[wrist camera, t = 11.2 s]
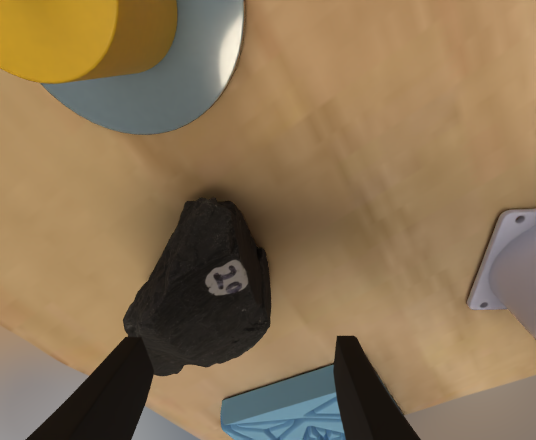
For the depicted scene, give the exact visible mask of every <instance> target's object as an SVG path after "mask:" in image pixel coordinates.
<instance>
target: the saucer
mask: <svg viewBox="0 0 536 440" xmlns="http://www.w3.org/2000/svg"><path fill="white" fill-rule="evenodd" d="M176 2H177V27H176V32H175V37H174V40H173V42H172V45H171V47H170V49H169V51H168V52H167V54H166V55H165V57H164V58H163V59H162V60H161V61H160V62H159V63H158V64H157V65H155V66H154V67H152V68H150V69H148V70H146V71H144V72H140V73H135V74H127V75H119V76H112V77H104V78H97V79H89V80H82V81H74V82H67V83H59V84H45V83H40V84H41V85H42V86H43V87H44V88H45V89H46V90H47V91H48V92H49V93H50V94H51V95H53V96H54V97H55V98H56V99H58V100H59V101H60V102H61V103H62V104H64V105H65V106H66V107H68V108H69V109H71V110H72V111H74V112H75V113H77V114H78V115H80V116H82V117H84V118H85V119H87V120H89V121H91V122H93V123H95V124H98V125H100V126H103V127H105V128H108V129H111V130H115V131H119V132H123V133H129V134H139V135H151V134H159V133H165V132H169V131H172V130H176V129H178V128H180V127H183V126H185V125H187V124H189V123H190V122H192V121H194V120H195V119H197V118H198V117H200V116H201V115H202V114H203V113H205V112H206V111H207V110H208V109H209V108H210V107H212V105H213V104H214V103H215V102H216V101H217V100H218V99H219V97H220V96H221V95H222V93H223V92H224V90H225V89H226V87H227V86H228V84H229V82H230V80H231V78H232V76H233V74H234V72H235V69H236V66H237V63H238V60H239V58H240V54H241V49H242V45H243V40H244V31H245V20H246V19H245V0H176Z"/></svg>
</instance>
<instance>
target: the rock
mask: <svg viewBox="0 0 536 440" xmlns="http://www.w3.org/2000/svg"><path fill="white" fill-rule="evenodd" d="M270 315H271V288H270V277H269V267H268V261H267V257H266V252H265V250H264V249H263V248H258V247H257V246H256V243H255V242H254V239H253V238H252V236H251V234H250V231H249V229H248V226H247V223H246V221H245V219H244V217H243V214H242V213H241V211H240V210H239V209H238V208H237V207H236V205H235V204H234V203H233V202H231V201H225V202H217V200H216V198H215V197H213V198H210V199H206V198H199V199H198V200H196V201H187V202H186V203H185V204H184V209H183V211H182V213H181V216H180V220H179V223H178V226H177V228H176V229H175V232H174V233H173V234H172V236H171V238H170V239H169V241H168V243H167V245H166V247H165V249H164V251H163V254H162V256H161V257H160V259H159V261H158V263H157V265H156V267H155V269H154V271H153V272H152V273H151V275H150V277H149V280H148V281H147V282H146V283H145V284H144V285H143V286H142V288H141V289H140V290H139V291H138V293H137V295H136V297H135V300H134V302H133V303H132V304H131V305H130V307H129V308H128V310H127V312H126V314H125V316H124V319H123V323H124V329H125V331H126V333H127V334H128V337H142V339H143V342H144V345H145V347H146V350H147V353H148V355H149V358H150V361H151V363H152V366H153V369H154V375H157V376H168V375H171V374H178V373H179V372H180V371H181V369H182V368H183V366H184V365H197V366H202V367H210V366H211V365H213V364H216V363H218V364H220V363H224V362H226V361H229V360H231V359H233V358H237V357H239V356H240V355H242V354H243V353H244V352H246V351H248V350H249V349H250V348H252V347H253V346H254V345H255V344H256V343H257V342H258V341H259V340H260V339H261V338H262V337H263V335H264V334H265V333H266V331H267V329H268V328H269V327H270Z"/></svg>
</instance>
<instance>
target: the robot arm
mask: <svg viewBox="0 0 536 440" xmlns="http://www.w3.org/2000/svg"><path fill="white" fill-rule="evenodd" d="M519 216H520V217H519ZM517 217H519V218H518V219H517V220H516V218H517ZM467 305H468V307H469V308H470V309H472V310H492V309H508V310H509V311H510V312H511V313H512V314H513V315H514V316H515V317H516V319H517V320H518V321H519V322H520V323H521V324H522V325H523V326H524V327H525V328H526V330H527V331H528V332H529V333H530V334H531V335H532V336H533V337H534V338H535V339H536V209H516V210H507V211H505V212H503V213H502V214H501V215H500V216H499V219H498V221H497V224H496V226H495V229H494V232H493V234H492V237H491V240H490V242H489V245H488V248H487V250H486V253H485V255H484V258H483V261H482V263H481V266H480V269H479V271H478V274H477V276H476V279H475V282H474V284H473V287H472V290H471V292H470V295H469V297H468V300H467ZM333 374H334V381H335V389H336V396H337V403H338V407H339V412H340V416H341V421H342V425H343V429H344V434H345V438H346V440H421V439H420V438H419V437H418V435H417V434H416V433H415V431H414V430H413V428H412V427H411V426H410V424H409V423H408V421H407V420H406V418H405V417H404V416H403V414H402V413H401V411H400V410H399V408H398V407H397V405H396V404H395V402H394V401H393V399H392V398H391V396H390V395H389V393H388V392H387V390H386V388H385V387H384V385H383V384H382V382H381V381H380V379H379V377H378V376H377V374H376V372H375V371H374V369H373V367H372V366H371V364H370V362H369V360H368V359H367V357H366V355H365V353H364V351H363V349H362V347H361V345H360V344H359V342H358V339H357V338H356V337H355V336H337V341H336V350H335V359H334V368H333ZM153 375H154V369H153V366H152V363H151V361H150V358H149V355H148V353H147V350H146V347H145V345H144V342H143V339H142V337H125V338H124V339H123V340H122V341H121V342H120V343H119V345H118V346H117V347H116V348H115V349H114V350H113V351H112V352H111V353H110V354H109V355H108V356H107V358H106V359H105V360H104V361H103V362H102V363H101V364H100V365H99V366H98V367H97V368H96V369H95V371H94V372H93V373H92V374H91V375H90V376H89V377H88V378H87V379H86V380H85V381H84V382H83V383H82V384H81V385H80V386H79V388H78V389H77V390H76V391H75V392H74V393H73V394H72V395H71V396H70V397H69V398H68V399H67V400H66V401H65V402H64V403H63V404H62V405H61V406H60V407H59V408H58V409H57V410H56V411H55V412H54V413H53V414H52V415H51V416H50V417H49V418H48V419H47V420H46V421H45V422H44V423H43V424H42V425H41V426H40V427H38V428H37V429H36V430H35V431H34V432H33V433H32V434H31V435H30V436H29V437H28V438H27V439H26V440H131V439H132V436H133V434H134V431H135V429H136V426H137V424H138V421H139V419H140V416H141V413H142V411H143V408H144V406H145V403H146V400H147V397H148V393H149V390H150V386H151V382H152V378H153Z"/></svg>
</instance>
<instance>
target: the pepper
mask: <svg viewBox="0 0 536 440" xmlns="http://www.w3.org/2000/svg"><path fill="white" fill-rule="evenodd" d="M176 27H177V2H176V0H0V68H1V69H3V70H5V71H7V72H8V73H11V74H13V75H15V76H18V77H20V78H23V79H26V80H30V81H33V82H39V83H45V84H59V83H67V82H74V81H82V80H89V79H97V78H104V77H112V76H119V75H127V74H135V73H140V72H144V71H146V70H148V69H150V68H152V67H154V66H155V65H157V64H158V63H159V62H160V61H161V60H162V59H163V58H164V57H165V55H166V54H167V52H168V51H169V49H170V47H171V45H172V42H173V40H174V37H175V32H176Z"/></svg>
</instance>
